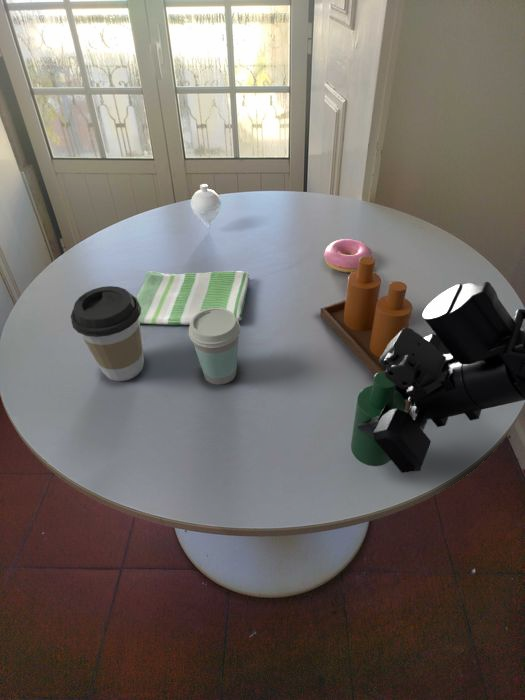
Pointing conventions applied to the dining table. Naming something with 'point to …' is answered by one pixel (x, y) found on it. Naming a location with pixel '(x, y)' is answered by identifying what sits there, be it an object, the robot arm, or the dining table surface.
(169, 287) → the dish towel
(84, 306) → the coffee cup
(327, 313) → the tray
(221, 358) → the coffee cup
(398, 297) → the amber bottle
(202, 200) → the spinning top
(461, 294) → the robot arm
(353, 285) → the amber bottle
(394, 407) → the green bottle
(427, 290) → the dining table surface
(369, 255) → the doughnut
